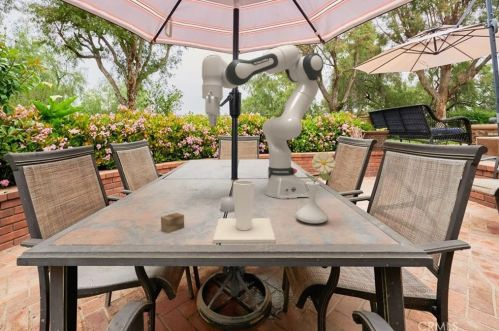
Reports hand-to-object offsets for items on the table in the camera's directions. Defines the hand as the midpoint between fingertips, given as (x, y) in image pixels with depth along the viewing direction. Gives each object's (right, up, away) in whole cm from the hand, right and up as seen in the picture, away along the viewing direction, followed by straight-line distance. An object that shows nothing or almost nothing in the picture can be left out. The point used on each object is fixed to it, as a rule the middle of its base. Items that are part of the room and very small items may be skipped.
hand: (213, 126), depth 112 cm
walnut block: (-9, -38, -29) cm, 49 cm away
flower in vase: (+39, -38, -22) cm, 59 cm away
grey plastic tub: (+8, -36, -9) cm, 38 cm away
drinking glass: (+14, -38, -31) cm, 51 cm away
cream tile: (+15, -39, -31) cm, 52 cm away
